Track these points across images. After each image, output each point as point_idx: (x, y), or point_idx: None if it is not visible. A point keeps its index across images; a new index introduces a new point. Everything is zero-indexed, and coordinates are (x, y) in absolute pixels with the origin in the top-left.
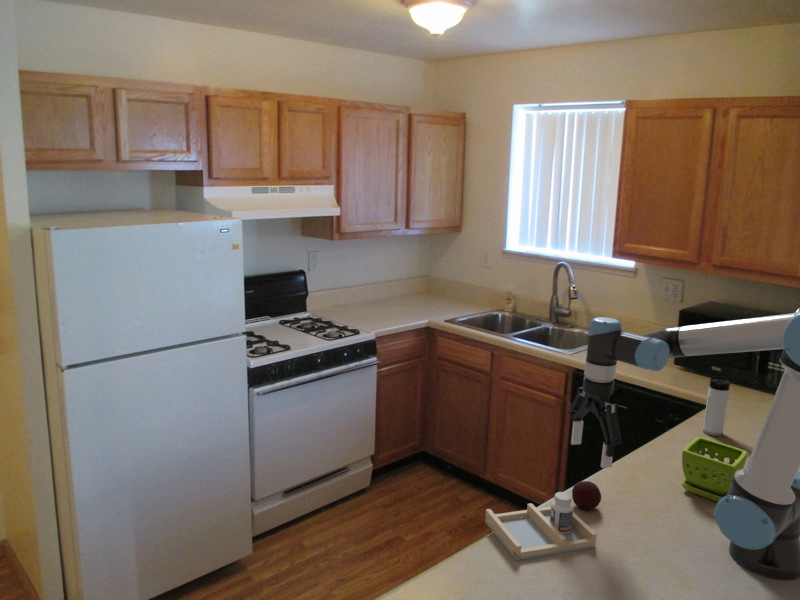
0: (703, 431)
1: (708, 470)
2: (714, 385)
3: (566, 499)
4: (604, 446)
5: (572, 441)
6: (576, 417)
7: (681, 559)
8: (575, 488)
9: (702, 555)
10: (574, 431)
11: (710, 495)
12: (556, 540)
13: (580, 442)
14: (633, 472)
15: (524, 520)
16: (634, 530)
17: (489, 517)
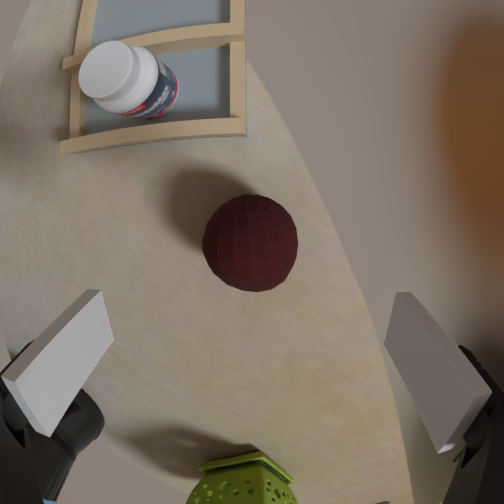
0: (386, 502)
1: (216, 498)
2: None
3: (80, 72)
4: (15, 363)
5: (406, 302)
6: (488, 442)
7: (46, 302)
8: (257, 206)
9: None
10: (435, 350)
11: (216, 463)
12: None
13: (388, 345)
14: (355, 416)
15: (215, 18)
16: (127, 286)
17: None
